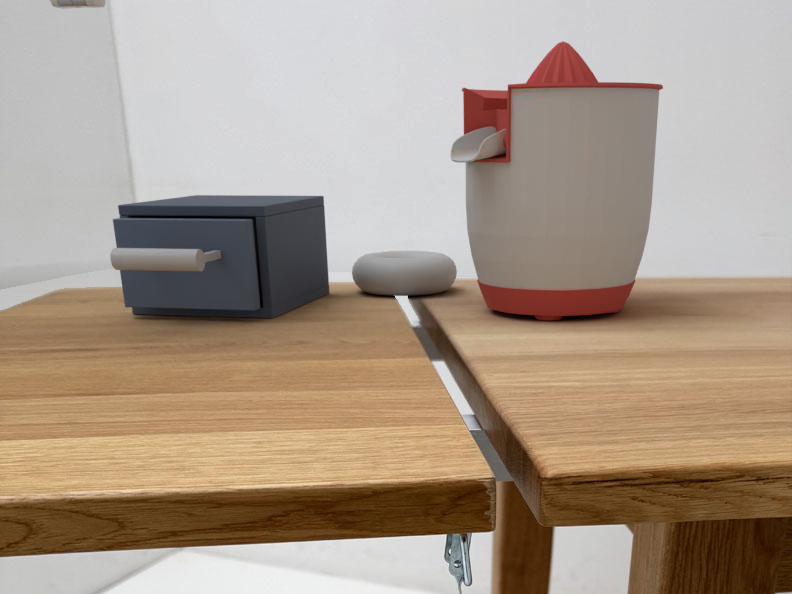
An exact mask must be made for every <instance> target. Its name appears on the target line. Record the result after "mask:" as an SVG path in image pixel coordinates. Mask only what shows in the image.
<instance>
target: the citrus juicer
mask: <svg viewBox="0 0 792 594" xmlns="http://www.w3.org/2000/svg"><path fill="white" fill-rule="evenodd" d="M663 89H664V86H663V84H660V83H651V82H650V83H649V82H648V83H647V82H621V81H620V82H618V81H617V82H616V81H615V82H614V81H613V82H612V81H611V82H605V81H604V82H603V81H598V79H597V78H596V76H595V73H593V71H592V70H591V68H590V67H589V65H588V63H586V61H585V60H584V58H583V57H582V56H581V55H580V53H578V51H577V50H576V49H575V48H574V47H573V46H572V45H571V44H570V43H569V42H566V41H564V40H563V41H560V42H558V43H556V44H555V46H553V48H551V49H550V50H549V51H548V53H547V54H546V55H545V56H544V57H543V58H542V60H541V61H540V62H539V64H538V65H537V66H536V68H535V69H534V70H533V72H532V73H531V75H530V76H529V77H528V79H527V81H526V82H525V83H510V84H509V83H508V84H507V90H501V89H500V90H497V89H495V90H494V89H474V88H466V87H462V88H461V92H462V95H463V96H462V97H463V98H462V99H463V101H462V102H463V135H460V137H458V138H456V139H455V141H453V143H452V145H451V149H450V160H451V161H452V162H454V163H459V164H461V163H465V212H466V213H465V214H466V215H465V216H466V230H467V236H468V242H469V247H470V254H471V258H472V262H473V267H474V269H475V274H476V277H477V280H476V281H477V285H478V287H479V289H480V293H481V295H482V297H483V300H484V303H485V304H486V307H487V308H489V309H491V310H493V311H497V312H501V313H507V314H514V315H515V314H516V315H523V316H524V315H526V316H534V318H535V319H536V320H538V321H559V320H561V319H563V317H571V316H575V317H576V316H589V315H599V314H615V313H619V312H620V310H621V309H623V308H624V307H625V305H626V303H627V301H628V299H629V296H630V295H631V292H632V290H633V288H634V285H635V283H636V277H637V273H638V271H639V268H640V265H641V262H642V258H643V255H644V251H645V247H646V244H647V243H646V242H647V238H648V234H649V229H650V221H651V215H652V214H651V212H652V204H653V191H654V190H653V189H654V176H655V159H656V148H657V147H656V146H657V131H658V130H657V129H658V118H659V117H658V115H659V104H660V103H659V101H660V91H661V90H663Z"/></svg>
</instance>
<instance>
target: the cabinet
mask: <svg viewBox="0 0 792 594" xmlns="http://www.w3.org/2000/svg"><path fill="white" fill-rule="evenodd" d="M117 209H118V215H119V218H149V217H156V216H231V217H256V229H257V241H258V252H259V264H260V275H261V287H262V299H263V300H262V301H260V309H257V310H255V311H247V310H210V309H173V308H136V307H131V311H132V314H133V315H145V316H146V315H147V316H149V315H151V316H180V317H181V316H183V317H219V318H220V317H221V318H250V319H251V318H252V319H254V318H255V319H256V318H257V319H274V318H276V317H279V316H281V315H283V314H286V313H288V312H290V311H292V310H294V309H297V308H299V307H301V306H304V305H306V304H309V303H310V302H314V301H315V300H318V299H320V298H322V297H324V296H326V295H329V294H330V279H329V264H328V263H329V262H328V246H327V229H326V213H325V211H326V210H325V196H324V195H237V194H236V195H229V194H226V195H225V194H224V195H221V194H220V195H219V194H218V195H217V194H216V195H215V194H213V195H212V194H208V195H207V194H196V195H188V196H179V197H173V198H164V199H157V200H148V201H140V202H133V203H132V202H131V203H123V204H118V205H117Z"/></svg>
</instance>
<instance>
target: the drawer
mask: <svg viewBox="0 0 792 594" xmlns="http://www.w3.org/2000/svg"><path fill="white" fill-rule="evenodd" d="M112 224H113V225H112V226H113V231H114V238H115V246H116V247H113V248H112V249H111V250H110V256H109V257H110V264H111V267H112V268H113V269H114V270H116V271H119V273H120V280H121V281H120V282H121V287H122V295H123V302H124V307H125V308H132V307H136V308H173V309H210V310H247V311H255V310H257V309H260V301H262V300H263V299H262V287H261V275H260V264H259V252H258V241H257V229H256V217H231V216H156V217H149V218H120V217H118V218H117V217H116V218H113V219H112Z"/></svg>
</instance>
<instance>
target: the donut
mask: <svg viewBox="0 0 792 594" xmlns="http://www.w3.org/2000/svg"><path fill="white" fill-rule="evenodd" d="M351 270H352V271H351V276H352V280H353V282H354V284H355V285H356V286H357V287H358V288H359V289H360V290H361V291H363V292H365V293H367V294H371V295H379V296H392V297H393V296H394V297H410V296H411V297H412V296H426V295H433V294H440V293H442V292H445V291H446V290H449V289H450V288H451V287H452V286H453V284H454V283H455V282H456V281H455V280H456V279H457V274H458V273H457V272H458V270H457V266H456V263H455V261H454V260H453V259H452V258H451V257H450V256H448V255H446V254H444V253H441V252H437V251H436V252H435V251H428V250H427V251H426V250H390V251H389V250H388V251H378V252H370V253H366V254H364V255H362V256H360V257H359V258H357V259H356V261H354V263H353V266H352V269H351Z"/></svg>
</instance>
